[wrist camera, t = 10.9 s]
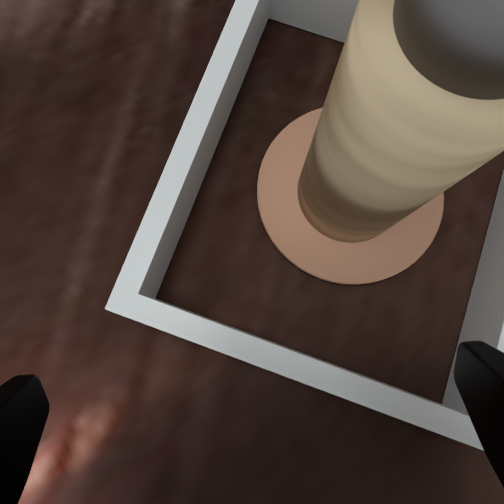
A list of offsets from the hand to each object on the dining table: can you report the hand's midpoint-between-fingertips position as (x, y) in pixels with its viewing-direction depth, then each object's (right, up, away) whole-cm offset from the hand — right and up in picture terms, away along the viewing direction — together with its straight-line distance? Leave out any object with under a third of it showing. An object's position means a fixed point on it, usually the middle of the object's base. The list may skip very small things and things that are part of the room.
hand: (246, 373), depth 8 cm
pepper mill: (+5, +6, +11) cm, 13 cm away
